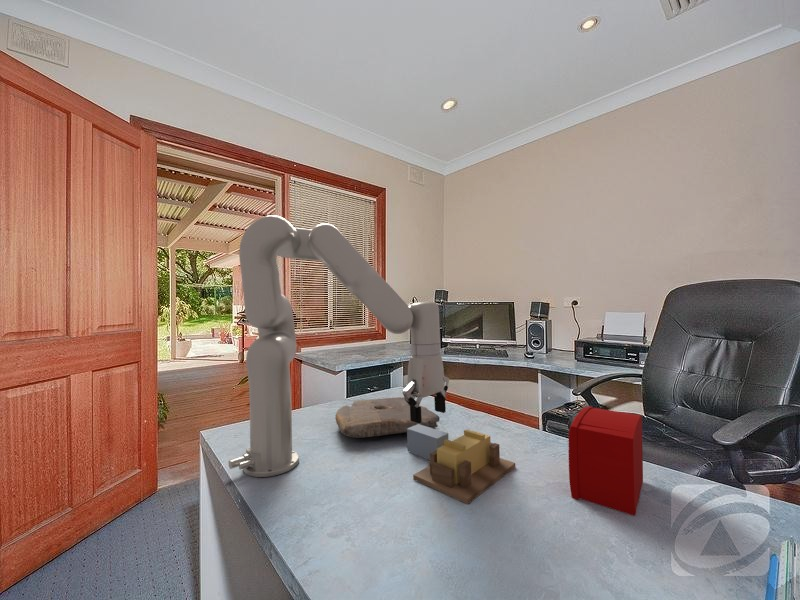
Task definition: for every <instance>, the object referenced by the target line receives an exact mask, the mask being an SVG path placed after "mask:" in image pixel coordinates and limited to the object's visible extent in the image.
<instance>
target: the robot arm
mask: <svg viewBox="0 0 800 600" xmlns="http://www.w3.org/2000/svg"><path fill="white" fill-rule="evenodd" d="M238 251H239V254H238V255H239V265H240V275H241V285H242V294H243V302H244V314H245V318H246V321H247V322H248V323H249V324H250V326H252V327H254V328H255V329H257V331H258V338H257V339H255V340H254V341H252V343H251V344H250V346H249V348H247V349H248V350H247V352H246V359H245V365H246V373H247V378H248V379H247V380H248V393H249V394H248V398H249V399H248V401H249V441H250V442H249V443H250V445H249V446H250V448H246V450H245V453H244V454H242V456H239V457H235V458H233V459H229V460H228V468H229V469H230V470H233V469H235V468H237V467H238V469H239V470H243V472H244V473H245V474H246V475H248V476H250V477H255V478H268V477H275V476H278V475H281V474H284V473H287V472H288V471H291V470H292V469H294V468H295V467H296V466H298V464H299V461H300V455H299V454H298V453H297V451H294V450H293V424H292V423H293V417H292V416H293V415H292V411H293V410H292V408H293V407H292V383H291V373H290V372H291V371H290V363H291V362H292V361H293V360H294V358H295V357H296V354H297V348H298V347H297V346H298V345H297V338H296V330H295V322H294V315H293V314H294V313H293V308H292V304H291V302H290V300H289V299H288V298H287V297H286V296H285V295H284V294H282V290H281V288H282V287H281V283H280V273H279V268H278V263H277V260H278V259H277V256H278V257H281V258H284V259H285V258H286V259H294V260H295V259H297V260H306V261H315V262H318V261H319V262H321V263H322V264H323V265H324V266H325V267H326V268H327V269H328V271H330V272H331V273H332V275H333V276H334V277H335V278H336V280H338V282H339V283H341V285H342V286H343V287H344V289H346V290H347V291H348V292H349V293H350V294H352V295H353V296H354V297H356V298H357V300H359V301H360V302H361V303H362V305H364V306H365V307H366V308H367V309H368V311H370V313H371V314H372V315H373V316H374V317H375V318H376V319H377V320H378V321H379V322H380V324H381V326H382V327H383V328H384V329H386V330H387V332H390V333H392V334H395V335H400V334H403V333H406V332H407V331H409V330H410V346H411V347H410V349H411V350H410V351H411V356H409V360H408V366H407V383H406V384H407V386H406V387H405V388H404V389H403V390H402V395H403V397H404V398H405V401H406V402H407V403H408V405H409V406H410V419H411V421H413V422H416V423H421V422H422V417H421V407H420V406H421V403H422V400H423V398H426V397H429V396H433V395H434V400H433V401H434V412H435V411H436V412H438V413H442V414H444V413H446V397H447V391H448V388H449V386H448V385H449V382H450V378H449V377H447V376H446V375H445V371H444V370H445V369H444V363H443V357H442V353H441V330H440V328H441V327H440V310H439V309H440V308H439V305H438V304H437V303H436V302H434V301H425V302H423V301H421V302H419V301H418V302H414V303H406V302H405V300H403V298H402V297H401V296H400V295H399V293H397V292H396V291H395V289H393V287H392V286H391V285H390V284H389V283H388V282H387V281H386V280H385V279H384V277H382V276H381V275H380V274H379V273H378V271H377V270H376V269H375V267H373V266H372V265H371V264H370V263H369V262H368V261H367V259H365V258H364V256H363V255H362V254H361V253H360V252H359V251H358V249H357V248H355V246H354V245H353V244H352V243H351V241H349V239H347V237H345V235H344V234H343V233H342V232H341V231H340V230H339V229H338V227H336V226H334V225H333V224H331V223H327V222H325V223H324V222H323V223H320V224H317V225H316V226H314V227H313V228H312V229H308V228H301V227H300V228H299V227H294V226H293V225H292V224H291V222H290V221H288V220H287V219H285V218H284V217H282V216H279V215H266V216H265V215H264V216H262V217H260V218H258V219H256V220H255V221H253V222H252V223H251V224H250V225H249V226H247V228H246V230H244V233H243V235H242V237H241V239H240V244H239V250H238ZM415 399H416V400H415Z"/></svg>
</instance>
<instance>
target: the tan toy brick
mask: <svg viewBox="0 0 800 600" xmlns="http://www.w3.org/2000/svg"><path fill="white" fill-rule="evenodd" d="M490 443H491V435H489V434H486V433H482V432H478V431H475V430H469V429H464V430H463V434H462V435H461V436H459V437H457V438H455V439H453V440H449V439H448V440H447V439H446V440H444V445H443V446H441V447H439V448H437V463H439V464H441V465H444V466H447V467H449V468H452V469H454V484H456V485H457V484H458V483H460V478H459V464H461V463H462V462H464V461H466V460H467V461H469V462H471V475H472V474H473V473H474V472H476V471H477V470H479V469H480V468H482V467H483V466H485V465H486V464H488V463H489V462H490V459H489V446H490V445H491V444H490Z"/></svg>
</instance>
